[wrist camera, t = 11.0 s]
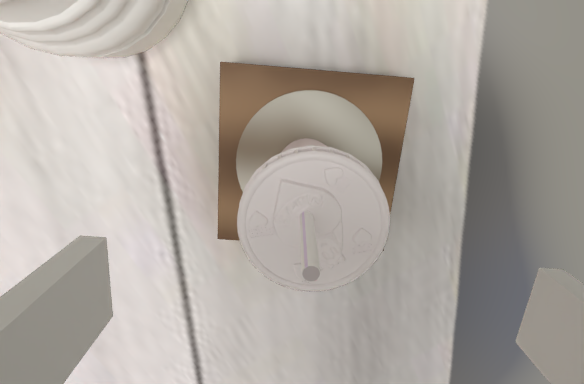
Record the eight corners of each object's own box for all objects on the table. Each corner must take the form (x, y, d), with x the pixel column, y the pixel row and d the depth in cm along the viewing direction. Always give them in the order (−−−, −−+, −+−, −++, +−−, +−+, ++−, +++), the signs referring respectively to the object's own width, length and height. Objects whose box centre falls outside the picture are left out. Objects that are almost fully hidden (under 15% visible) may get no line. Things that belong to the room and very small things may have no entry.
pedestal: (372, 227, 30) (384, 253, 26) (227, 217, 30) (216, 241, 26) (397, 76, 26) (416, 78, 22) (230, 62, 26) (218, 61, 22)
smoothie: (323, 96, 23) (364, 139, 9) (372, 180, 24) (465, 316, 11) (238, 151, 24) (167, 257, 11) (291, 227, 26) (287, 401, 12)
